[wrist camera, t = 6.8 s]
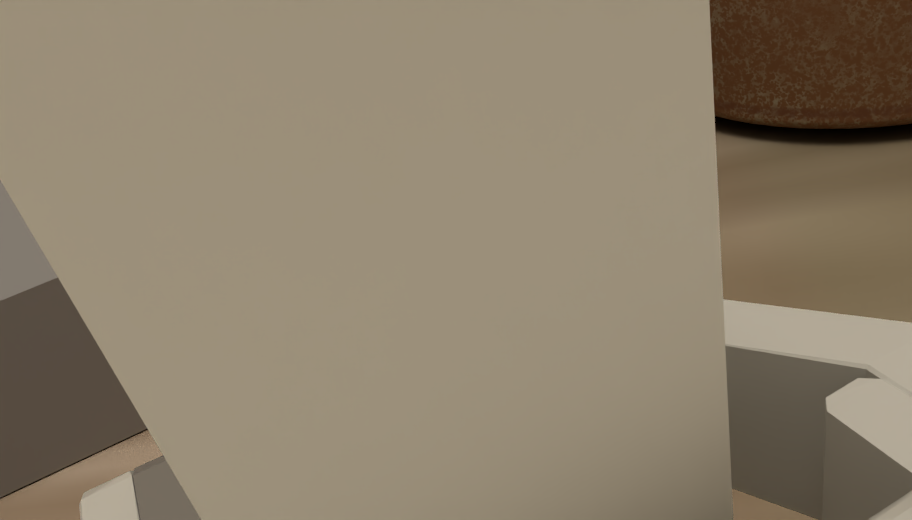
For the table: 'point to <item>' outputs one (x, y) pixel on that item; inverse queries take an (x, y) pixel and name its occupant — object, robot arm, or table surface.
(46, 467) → the slotted board
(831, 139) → the table surface
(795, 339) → the robot arm
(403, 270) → the notched plate
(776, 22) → the planter
